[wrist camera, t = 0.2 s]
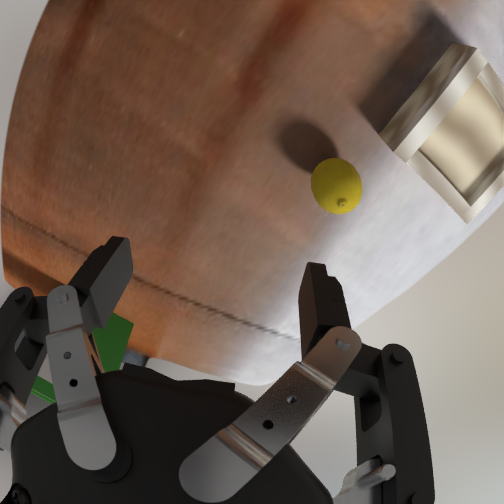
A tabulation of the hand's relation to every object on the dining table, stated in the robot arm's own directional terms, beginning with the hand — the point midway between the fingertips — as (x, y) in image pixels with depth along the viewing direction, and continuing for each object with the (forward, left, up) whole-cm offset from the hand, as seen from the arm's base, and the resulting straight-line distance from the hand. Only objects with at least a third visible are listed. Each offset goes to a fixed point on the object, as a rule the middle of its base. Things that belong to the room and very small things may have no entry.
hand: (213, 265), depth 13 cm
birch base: (-14, +21, -23) cm, 35 cm away
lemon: (+1, +11, -23) cm, 26 cm away
